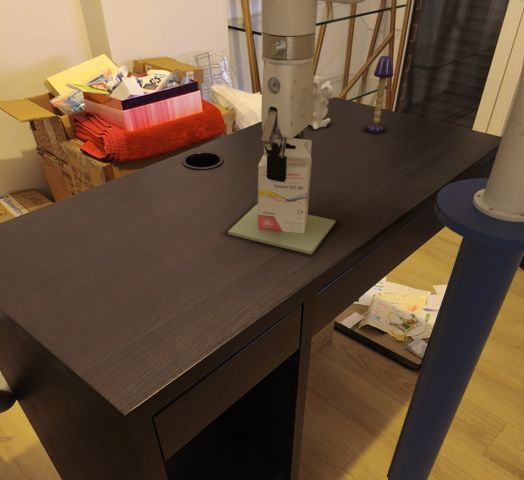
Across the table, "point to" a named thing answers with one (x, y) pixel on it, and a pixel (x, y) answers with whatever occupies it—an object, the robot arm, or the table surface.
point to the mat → (289, 240)
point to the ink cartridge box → (286, 190)
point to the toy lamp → (380, 90)
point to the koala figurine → (321, 102)
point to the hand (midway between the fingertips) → (284, 171)
